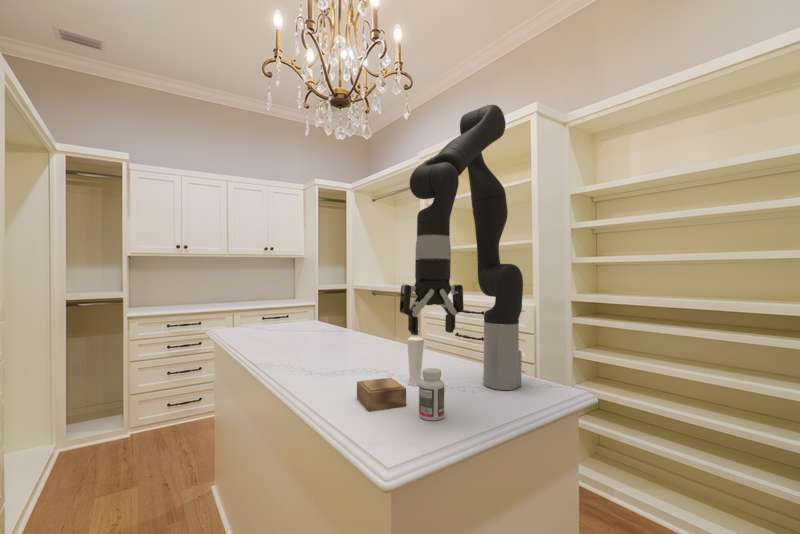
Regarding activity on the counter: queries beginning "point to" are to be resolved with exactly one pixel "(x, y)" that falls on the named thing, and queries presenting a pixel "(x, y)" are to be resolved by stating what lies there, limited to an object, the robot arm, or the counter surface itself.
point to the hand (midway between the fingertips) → (432, 333)
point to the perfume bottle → (415, 358)
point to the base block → (381, 394)
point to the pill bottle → (431, 395)
